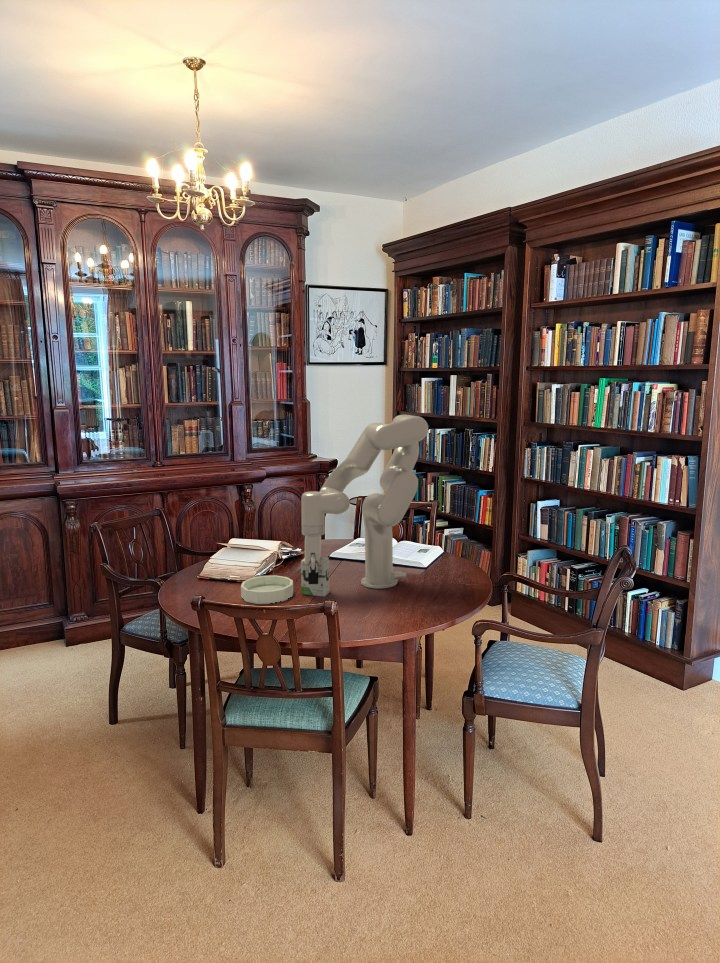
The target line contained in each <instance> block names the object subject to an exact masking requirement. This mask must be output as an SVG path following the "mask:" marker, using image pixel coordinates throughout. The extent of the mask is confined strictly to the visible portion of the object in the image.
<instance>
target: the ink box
mask: <svg viewBox="0 0 720 963" xmlns="http://www.w3.org/2000/svg"><path fill="white" fill-rule="evenodd" d="M317 562H318V561H317ZM308 572H309V564H307V565H305V557H304V558H303V559H301V561H300V579H301V580H300V582H301V584H300V586H301V592H300V593H301V595H305V596H306V595H307V596H314V597H315V596H317V597H326V596H327V595H328V594H329V593H330V591H331V590H330V587H331V586H330V559H329V558H327V557H320V563H319V565H317V572H318V584H309V583H308Z"/></svg>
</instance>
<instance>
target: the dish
mask: <svg viewBox="0 0 720 963" xmlns="http://www.w3.org/2000/svg"><path fill="white" fill-rule="evenodd" d="M240 595H241V596H240V597H242V598H243V599H244V600H243V599H242V598H241V599H242V600H243V601H244V602H246V603H251V604H256V605H268V604H270V603H273V604H276V603H275V602H277V603H281V602H285V601H287V600H289V599H290V597H291V598H292V597H293V596H294V580H293V579H291V578H290V577H288V576H281V575H275V574H274V575H259V576H255V577H250V578H248V579H246V580H244V581H242V582H241V585H240ZM288 598H289V599H288ZM280 601H281V602H280ZM270 605H271V604H270Z"/></svg>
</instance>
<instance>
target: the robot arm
mask: <svg viewBox="0 0 720 963" xmlns="http://www.w3.org/2000/svg"><path fill="white" fill-rule="evenodd" d="M428 432H429V424H428V422H427V421H426V420H425V419H424V418H423V417H422V416H418V415H412V414H399V415H396V416H395V417H394V418H393V419H392V421H391V423H386V424H385V423H381V422H373V423H370V424H368V425H367V426H365V428H364V429H363V431H362V432H361V434H360V436H359V437H358V439H357V440H356V442H355V443H354V446H353V447H352V448H351V450H350V452H349V453H348V455H347V457H346V458H345V459H344V460H343V461H342V462H341V463H339V465H338V466H336V468H334V470H333V471H332V472H331V473H330V474H329V476H328V477H327V478H326V480H325V481H324V483H323V484H322V486H321V488H320V490H319V491H317V490H315V491H313V490H311V491H305V492H303V493H302V495H301V498H300V499H301V501H300V503H301V535H302V536H304V558H305V565H307V564H309V572H308V583H309V584H318V572H317V565H319V563H320V558H321V553H322V536H323V535H325V533H326V531H325V528H326V526H325V522H326V521H325V514H329V515H331V514H332V515H340V514H343V513H345V512H347V511H348V509H349V507H350V505H351V504H350V503H351V502H350V499H349V496H347V494H346V493H344V491H345V489H346V487H347V486H348V485H349V484H351V482H352V481H354V480H355V479H357V478H359V477H362V476H364V475H365V474H367V473H368V472H369V471H370V469H371V468H372V467H373V464H374V463H375V461H376V459H377V458H378V456H379V454H380V453H381V451H391V450H393V453H392V455H391V457H390V459H389V461H388V463H387V464H386V466H385V468H384V470H383V471H382V473H381V475H380V478H379V486H380V488H381V489H382V490H384V491H385V494H383V493H379V492H377V493H376V492H375V493H370V494H368V495H367V496H366V497H365V499H364V500H363V502H362V506H361V513H362V518H363V519H362V520H363V525H364V527H363V528H364V555H365V556H364V564H365V568H364V569H365V576H364V577H362V578H361V581H360V582H361V585H362V586H364V587H365V588H369V589H378V590H379V589H389V588H393V587H395V586H396V585H397V584H398V579H407V572H403V571H396V570H394V567H393V566H394V565H393V564H394V562H393V553H394V552H393V551H394V550H393V540H394V539H393V538H394V537H393V536H394V535H393V527H394V526H396V525H398V524H399V523H401V521H402V520H403V519H404V516H405V515H406V513H407V511H408V509H409V507H410V505H411V503H412V501H413V499H414V498H415V495H416V494H417V491H418V487H419V479H418V477H417V474H415V472H413V470H414V468H415V465H416V463H417V462H418V458H419V455H420V446H419V445H420V444H419V442H421V441H423V439H425V438H426V437H427V435H428ZM317 561H318V562H317Z"/></svg>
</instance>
